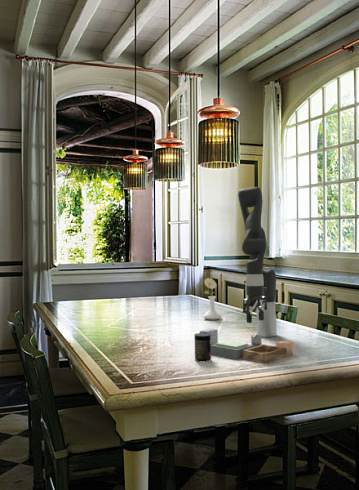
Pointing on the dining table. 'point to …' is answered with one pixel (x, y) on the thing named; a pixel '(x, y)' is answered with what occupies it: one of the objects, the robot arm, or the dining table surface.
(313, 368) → the dining table surface
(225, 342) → the pale green panel
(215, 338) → the medicine box
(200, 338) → the supplement container
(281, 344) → the peach dome knob
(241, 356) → the checker base
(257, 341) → the cell
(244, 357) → the brown wooden tray
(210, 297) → the flower in vase
